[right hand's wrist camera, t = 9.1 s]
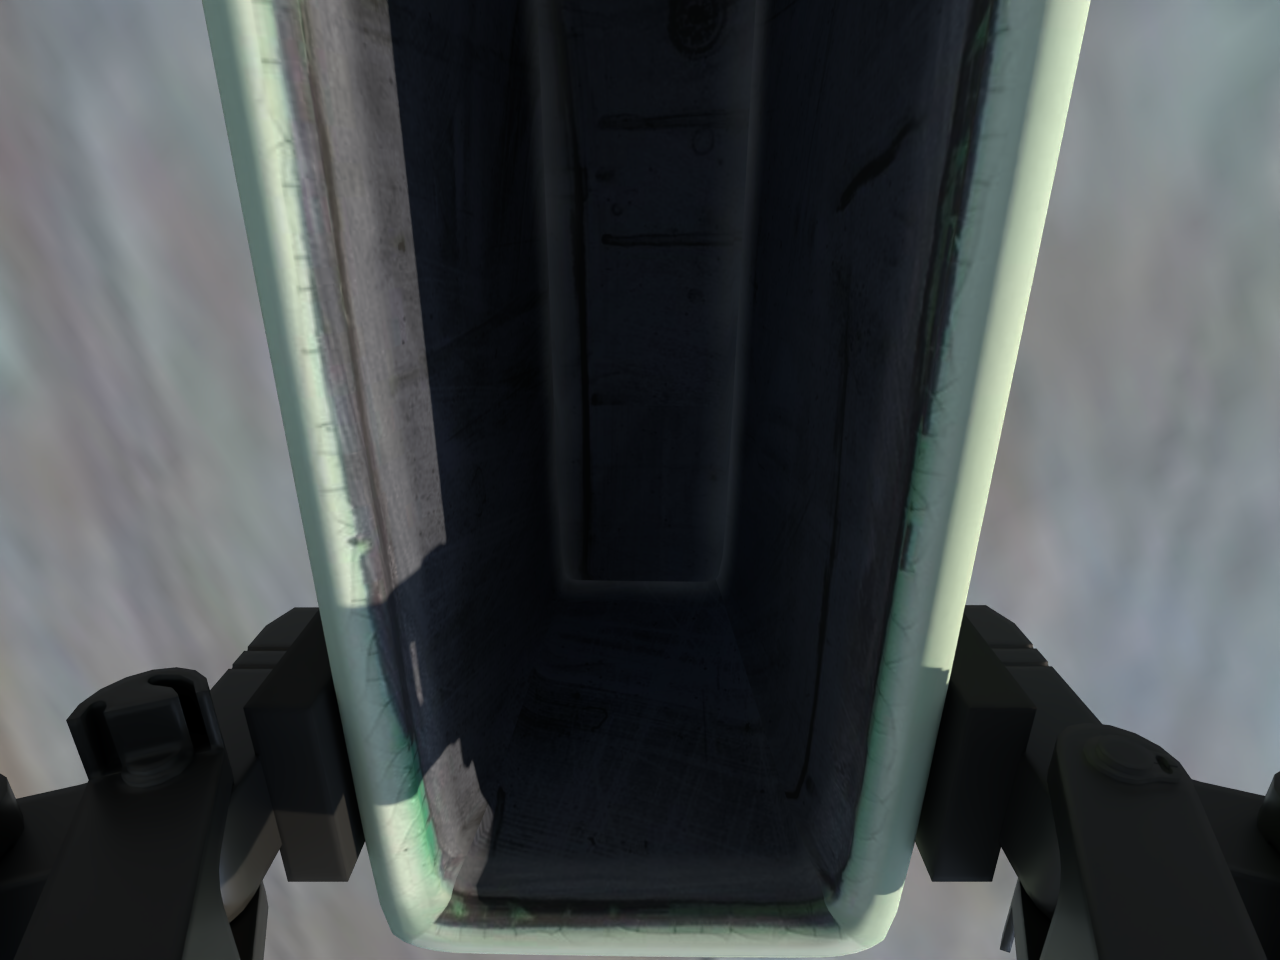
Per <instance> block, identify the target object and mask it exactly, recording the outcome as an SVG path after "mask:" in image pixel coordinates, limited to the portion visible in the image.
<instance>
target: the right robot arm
mask: <svg viewBox="0 0 1280 960" xmlns="http://www.w3.org/2000/svg"><path fill="white" fill-rule="evenodd" d="M66 721H67V724H68V726H69V729H70V732H71V734H72V737H73V739H74V742H75V745H76V747H77V750H78V753H79V755H80V758H81V761H82V763H83V766H84V769H85V771H86V774H87V777H88V779H89V781H88V783H85V784H81V785H77V786H72V787H68V788H63V789H59V790H54V791H50V792H45V793H41V794H36V795H32V796H27V797H23V798H18V799H16V798H15V796H14V794H13V791H12V789H11V787H10V784H9V782H8V780H7V777H5V776H3V775H2V774H0V960H263V959H264V948H265V937H266V927H267V916H268V902H267V897H266V891H265V888H264V884H263V878H264V876H265V875H266V873H267V871H268V869H269V867H270V866H271V864H272V862H273V860H274V858H275V856H276V855H277V853H278V851H279V849H280V852H281V856H282V860H283V864H284V868H285V872H286V876H287V879H288V882H348V880H349V878H350V875H351V873H352V871H353V868H354V866H355V864H356V861H357V859H358V856H359V854H360V852H361V849H362V847H363V845H364V842H365V838H364V833H363V828H362V823H361V818H360V813H359V808H358V803H357V798H356V793H355V788H354V783H353V778H352V773H351V768H350V763H349V758H348V753H347V748H346V743H345V738H344V733H343V728H342V723H341V718H340V713H339V707H338V702H337V697H336V692H335V687H334V682H333V677H332V672H331V667H330V662H329V657H328V652H327V646H326V641H325V636H324V631H323V626H322V621H321V615H320V610H319V608H293V609H292V610H290V611H288V612H287V613H285V614H284V615H282V616H281V617H279V618H277V619H276V620H274V621H273V622H271V623H270V624H268V625H266V626H265V628H264V629H263V630H262V631H261V632H260V633H259V634H258V636H257V637H256V638H255V639H254V640H253V641H252V643H251V644H250V645H249V646H248V651H244V652H243V653H242V654H241V655H240V656H239V658H238V659H237V660H236V661H235V662H234V663H233V667H232V669H228V670H227V671H226V673H225V674H224V675H223V676H222V677H221V678H220V680H219V681H218V682H217V683H216V684H215V685H214V686H213V688H212V689H211V690H210V689H209V686H208V682H207V679H206V678H205V677H204V676H203V675H201V674H200V673H198V672H197V671H196V670H190V669H184V668H177V667H176V668H166V669H156V670H150V671H147V672H143V673H140V674H136V675H133V676H129V677H126V678H124V679H122V680H119V681H117V682H115V683H113V684H111V685H109V686H107V687H104V688H102V689H100V690H99V691H97V692H96V693H95V694H93V695H92V696H90V697H89V698H87V699H86V700H85V701H83V702H82V703H80V704H79V705H78V706H77V708H76V709H75V710H74V711H73V713H72V714H71V715H70V716H69V717H68V719H67V720H66ZM915 842H916V845H917V847H918V849H919V852H920V854H921V856H922V859H923V861H924V863H925V866H926V868H927V871H928V873H929V875H930V878H931V880H932V882H992V880H993V876H994V872H995V868H996V864H997V860H998V856H999V853H1000V849H1001V847H1002V849H1003V851H1004V853H1005V855H1006V856H1007V858H1008V860H1009V862H1010V864H1011V865H1012V867H1013V869H1014V871H1015V873H1016V874H1017V876H1018V880H1017V884H1016V888H1015V891H1014V895H1013V898H1012V902H1011V906H1010V909H1009V913H1008V916H1007V920H1006V924H1005V927H1004V931H1003V935H1002V940H1001V946H1000V950H1003V951H1006V952H1009V953H1010V950H1011V947H1012V943H1013V940H1014V937H1015V945H1016V956H1017V960H1280V772H1278V773H1276V774H1275V775H1274V778H1273V780H1272V782H1271V784H1270V787H1269V789H1268V791H1267V794H1266V796H1262V795H1258V794H1253V793H1249V792H1244V791H1240V790H1235V789H1231V788H1226V787H1222V786H1217V785H1212V784H1208V783H1203V782H1199V781H1196V780H1192V779H1191V778H1190V777H1189V775H1188V774H1187V772H1186V771H1185V769H1184V768H1183V767H1182V765H1181V764H1180V762H1179V761H1177V760H1176V759H1175V758H1174V757H1172V756H1171V755H1170V754H1169V753H1167V752H1166V751H1165V750H1164V749H1163V748H1161V747H1160V746H1158V745H1156V744H1155V743H1153V742H1151V741H1149V740H1147V739H1145V738H1143V737H1141V736H1139V735H1137V734H1136V733H1132V732H1129V731H1126V730H1123V729H1120V728H1117V727H1114V726H1111V725H1103V724H1102V723H1101V722H1100V721H1099V720H1098V719H1097V718H1096V716H1095V715H1094V714H1093V713H1092V712H1091V711H1090V710H1089V708H1088V707H1087V706H1086V705H1085V704H1084V703H1083V702H1082V700H1081V699H1080V698H1079V697H1078V696H1077V695H1076V693H1075V692H1074V691H1073V690H1072V689H1071V688H1070V687H1069V685H1068V684H1067V683H1066V682H1065V681H1064V680H1063V679H1062V677H1061V676H1060V675H1059V674H1058V673H1057V672H1056V671H1055V669H1054V668H1053V667H1052V666H1048V661H1047V660H1046V659H1045V658H1044V657H1043V656H1042V654H1041V653H1040V652H1039V651H1038V650H1037V649H1033V644H1032V643H1031V642H1030V641H1029V640H1028V638H1027V637H1026V636H1025V635H1024V634H1023V633H1022V631H1021V630H1020V629H1019V628H1018V627H1017V626H1016V625H1015V623H1013V622H1011V621H1010V620H1008V619H1007V618H1005V617H1004V616H1002V615H1000V614H999V613H997V612H996V611H994V610H992V609H991V608H989V607H988V606H986V605H965V608H964V612H963V617H962V622H961V627H960V632H959V636H958V641H957V646H956V651H955V655H954V660H953V665H952V670H951V675H950V679H949V684H948V689H947V694H946V698H945V703H944V708H943V712H942V717H941V722H940V726H939V731H938V736H937V740H936V745H935V750H934V754H933V759H932V764H931V768H930V773H929V778H928V782H927V787H926V792H925V796H924V801H923V805H922V810H921V815H920V819H919V824H918V829H917V833H916V838H915Z"/></svg>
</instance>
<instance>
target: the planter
mask: <svg viewBox="0 0 1280 960" xmlns="http://www.w3.org/2000/svg"><path fill="white" fill-rule="evenodd" d="M1090 1H1091V0H202V4H203V9H204V14H205V19H206V24H207V30H208V35H209V40H210V45H211V50H212V56H213V61H214V66H215V71H216V76H217V82H218V87H219V92H220V97H221V103H222V108H223V113H224V118H225V123H226V129H227V134H228V139H229V144H230V149H231V155H232V160H233V165H234V170H235V175H236V181H237V186H238V191H239V196H240V202H241V207H242V212H243V217H244V222H245V228H246V233H247V238H248V243H249V248H250V254H251V259H252V264H253V269H254V274H255V280H256V285H257V290H258V295H259V301H260V306H261V311H262V316H263V321H264V327H265V332H266V337H267V342H268V347H269V352H270V358H271V363H272V368H273V373H274V378H275V383H276V388H277V394H278V399H279V404H280V409H281V414H282V419H283V425H284V430H285V435H286V440H287V445H288V450H289V456H290V461H291V466H292V471H293V476H294V481H295V486H296V492H297V497H298V502H299V507H300V512H301V517H302V523H303V528H304V533H305V538H306V543H307V548H308V554H309V559H310V564H311V569H312V574H313V579H314V584H315V590H316V595H317V600H318V605H319V610H320V615H321V621H322V626H323V631H324V636H325V641H326V646H327V652H328V657H329V662H330V667H331V672H332V677H333V682H334V687H335V692H336V697H337V702H338V707H339V713H340V718H341V723H342V728H343V733H344V738H345V743H346V748H347V753H348V758H349V763H350V768H351V773H352V778H353V783H354V788H355V793H356V798H357V803H358V808H359V813H360V818H361V823H362V828H363V833H364V838H365V842H366V846H367V850H368V854H369V859H370V863H371V867H372V871H373V876H374V880H375V884H376V888H377V892H378V897H379V901H380V905H381V907H382V910H383V912H384V915H385V917H386V919H387V922H388V924H389V927H390V929H391V931H392V933H393V934H394V935H395V936H397V937H398V938H400V939H401V940H403V941H404V942H406V943H409V944H412V945H414V946H417V947H420V948H425V949H430V950H434V951H443V952H453V953H481V954H526V955H582V956H651V957H770V958H806V957H833V956H843V955H848V954H853V953H858V952H860V951H863V950H866V949H869V948H871V947H873V946H875V945H876V944H878V943H879V942H881V941H883V940H884V938H885V936H886V934H887V932H888V930H889V927H890V925H891V923H892V921H893V919H894V917H895V915H896V912H897V909H898V905H899V902H900V898H901V894H902V890H903V886H904V882H905V878H906V874H907V870H908V866H909V862H910V859H911V855H912V851H913V847H914V843H915V838H916V833H917V829H918V824H919V819H920V815H921V810H922V805H923V801H924V796H925V792H926V787H927V782H928V778H929V773H930V768H931V764H932V759H933V754H934V750H935V745H936V740H937V736H938V731H939V726H940V722H941V717H942V712H943V708H944V703H945V698H946V694H947V689H948V684H949V679H950V675H951V670H952V665H953V660H954V655H955V651H956V646H957V641H958V636H959V632H960V627H961V622H962V617H963V612H964V608H965V603H966V598H967V593H968V588H969V584H970V579H971V574H972V569H973V564H974V560H975V555H976V550H977V545H978V540H979V536H980V531H981V526H982V521H983V517H984V512H985V507H986V502H987V497H988V493H989V488H990V483H991V478H992V473H993V469H994V464H995V459H996V454H997V449H998V445H999V440H1000V435H1001V430H1002V425H1003V421H1004V416H1005V411H1006V406H1007V402H1008V397H1009V392H1010V387H1011V382H1012V378H1013V373H1014V368H1015V363H1016V358H1017V354H1018V349H1019V344H1020V339H1021V334H1022V330H1023V325H1024V320H1025V315H1026V310H1027V305H1028V301H1029V296H1030V291H1031V286H1032V281H1033V276H1034V272H1035V267H1036V262H1037V257H1038V252H1039V247H1040V243H1041V238H1042V233H1043V228H1044V223H1045V218H1046V214H1047V209H1048V204H1049V199H1050V194H1051V189H1052V185H1053V180H1054V175H1055V170H1056V165H1057V160H1058V155H1059V151H1060V146H1061V141H1062V136H1063V131H1064V126H1065V122H1066V117H1067V112H1068V107H1069V102H1070V97H1071V93H1072V88H1073V83H1074V78H1075V73H1076V68H1077V64H1078V59H1079V54H1080V49H1081V44H1082V39H1083V35H1084V30H1085V25H1086V20H1087V15H1088V10H1089V5H1090Z"/></svg>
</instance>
